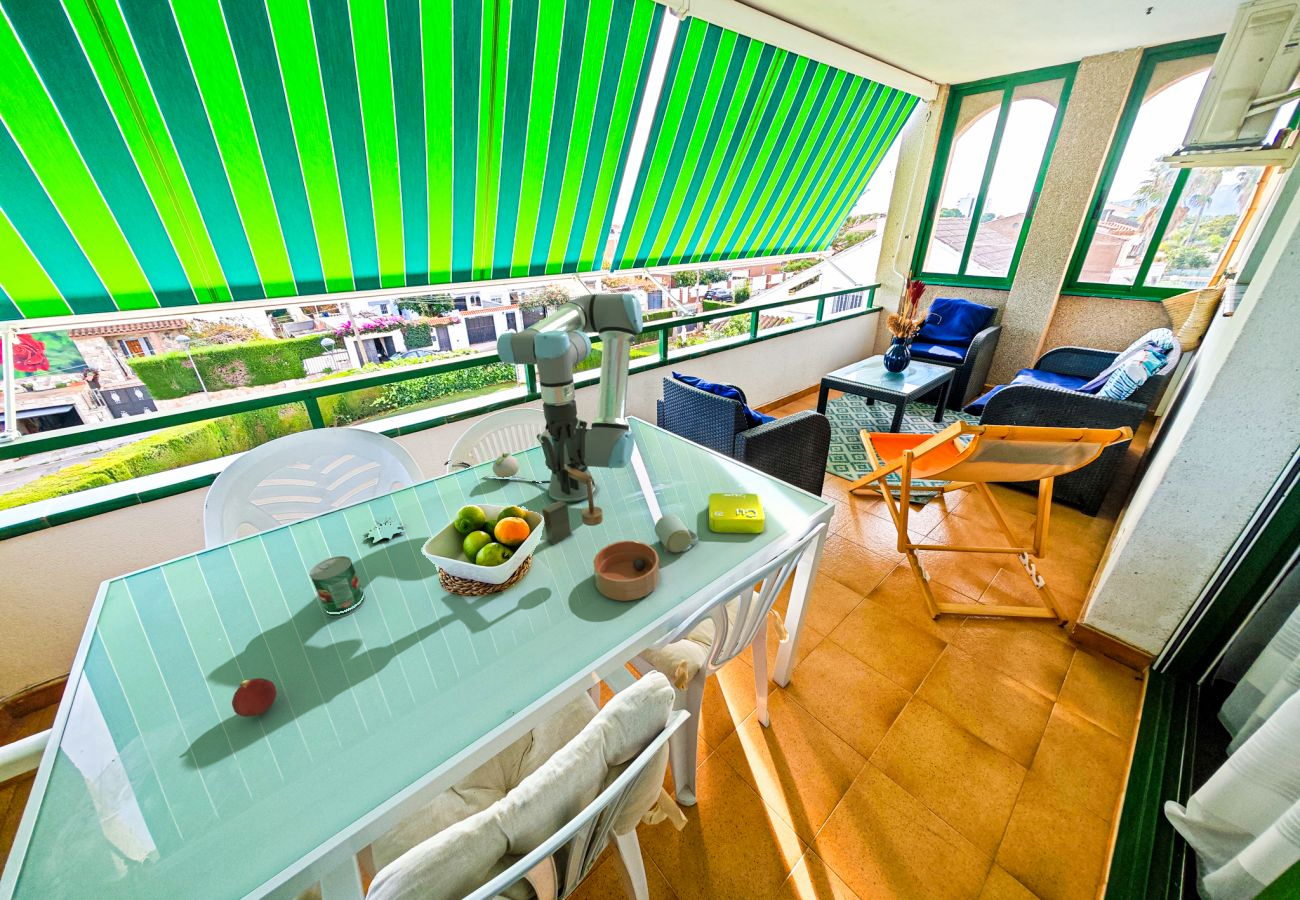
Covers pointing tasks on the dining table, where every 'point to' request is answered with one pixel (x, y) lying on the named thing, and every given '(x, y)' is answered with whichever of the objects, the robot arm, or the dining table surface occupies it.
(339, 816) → the dining table surface
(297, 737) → the dining table surface
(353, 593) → the canned tomato
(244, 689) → the red plum
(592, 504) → the ladle
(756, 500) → the element tile
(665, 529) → the ceramic mug
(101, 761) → the dining table surface
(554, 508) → the dark upright slab
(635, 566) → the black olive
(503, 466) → the decorative fruit
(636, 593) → the bowl
